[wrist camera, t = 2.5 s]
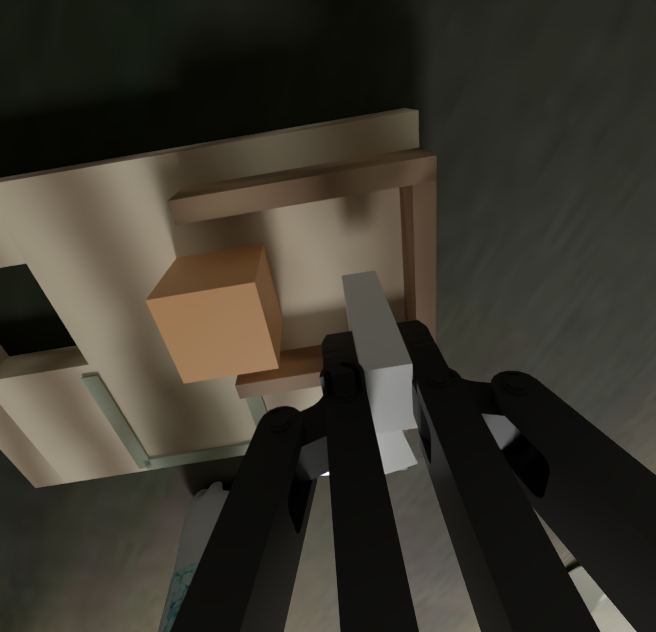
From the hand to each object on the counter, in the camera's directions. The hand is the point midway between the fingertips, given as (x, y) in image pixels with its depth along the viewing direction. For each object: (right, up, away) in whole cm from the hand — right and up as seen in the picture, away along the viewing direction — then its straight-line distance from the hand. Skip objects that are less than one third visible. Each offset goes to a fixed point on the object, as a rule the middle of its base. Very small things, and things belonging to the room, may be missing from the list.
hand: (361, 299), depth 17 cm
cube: (-7, +1, +3) cm, 7 cm away
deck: (-10, -1, +7) cm, 12 cm away
